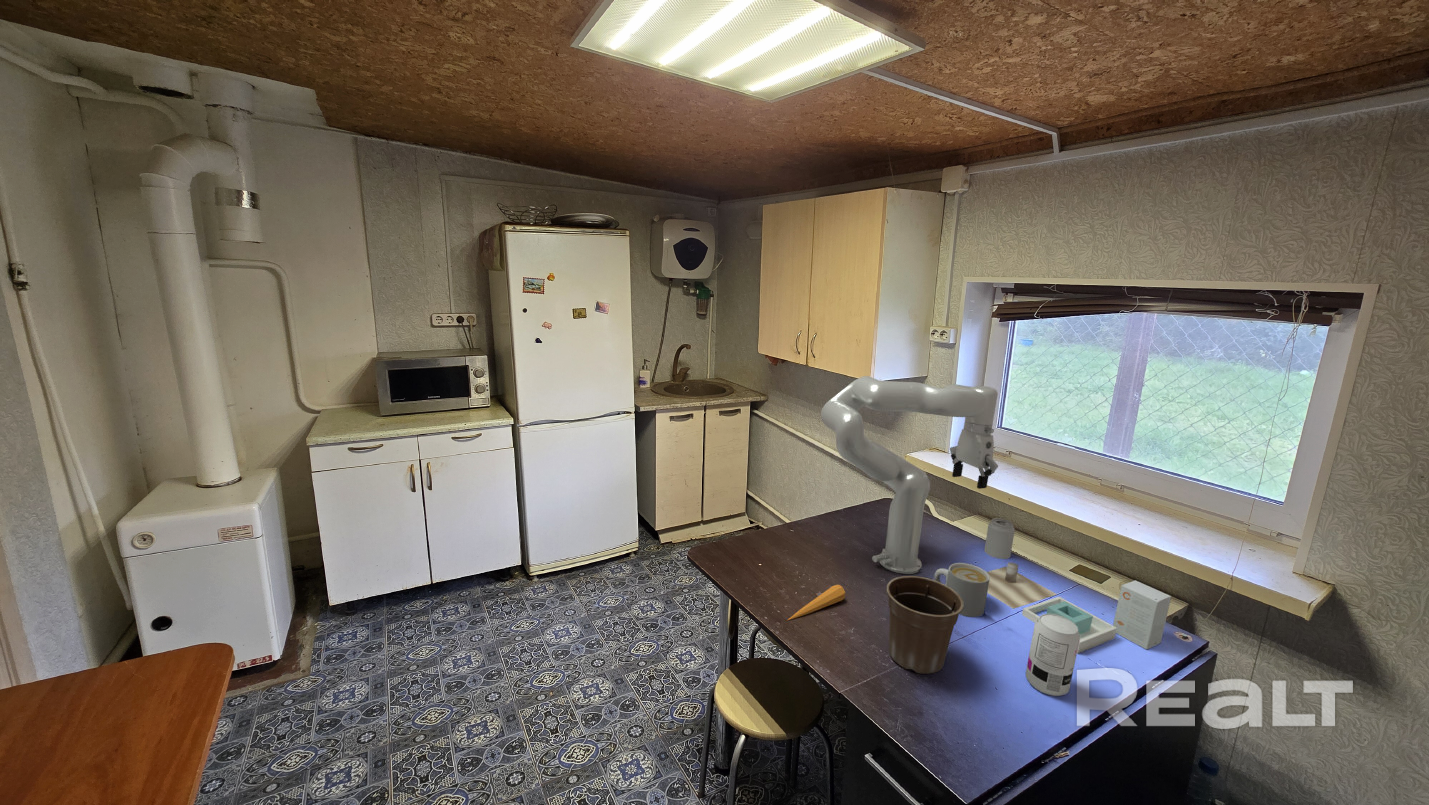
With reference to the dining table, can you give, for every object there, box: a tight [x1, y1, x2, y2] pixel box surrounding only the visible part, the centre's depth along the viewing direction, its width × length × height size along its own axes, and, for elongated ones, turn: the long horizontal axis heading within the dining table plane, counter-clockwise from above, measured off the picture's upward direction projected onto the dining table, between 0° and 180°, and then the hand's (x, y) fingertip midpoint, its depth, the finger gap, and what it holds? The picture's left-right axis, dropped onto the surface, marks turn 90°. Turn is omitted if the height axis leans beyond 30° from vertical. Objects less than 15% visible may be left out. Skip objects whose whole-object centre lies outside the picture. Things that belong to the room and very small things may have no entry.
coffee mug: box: [933, 562, 990, 618], centre depth 147 cm, size 13×10×10 cm
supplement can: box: [1025, 613, 1080, 697], centre depth 117 cm, size 8×8×15 cm
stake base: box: [986, 561, 1058, 610], centre depth 155 cm, size 18×16×6 cm
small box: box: [1112, 580, 1172, 650], centre depth 135 cm, size 8×6×13 cm
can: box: [983, 517, 1016, 560], centre depth 173 cm, size 8×8×12 cm
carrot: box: [787, 584, 846, 621], centre depth 143 cm, size 20×4×4 cm, turn 124°
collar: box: [1045, 601, 1093, 634], centre depth 138 cm, size 7×8×4 cm
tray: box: [1021, 596, 1117, 655], centre depth 138 cm, size 15×15×3 cm
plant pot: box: [886, 575, 963, 675], centre depth 125 cm, size 16×16×16 cm
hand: (968, 482), depth 166 cm, fingers open, 9 cm apart
